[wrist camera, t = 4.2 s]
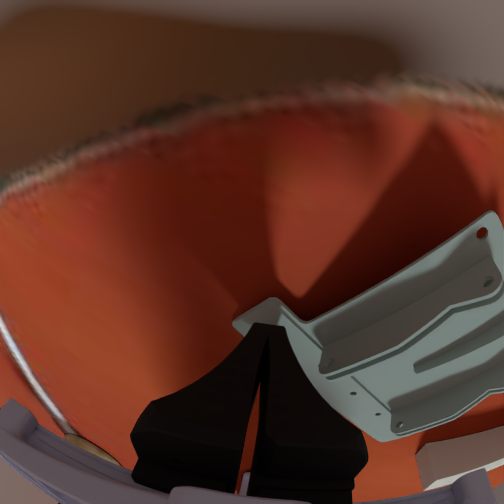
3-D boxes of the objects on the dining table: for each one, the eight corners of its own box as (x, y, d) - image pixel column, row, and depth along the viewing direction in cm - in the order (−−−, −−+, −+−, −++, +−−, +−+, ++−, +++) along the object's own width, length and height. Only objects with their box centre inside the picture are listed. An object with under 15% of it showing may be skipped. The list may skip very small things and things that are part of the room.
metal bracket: (512, 160, 5) (552, 392, 7) (450, 130, 9) (529, 327, 12) (201, 355, 13) (363, 464, 15) (243, 284, 18) (371, 402, 20)
